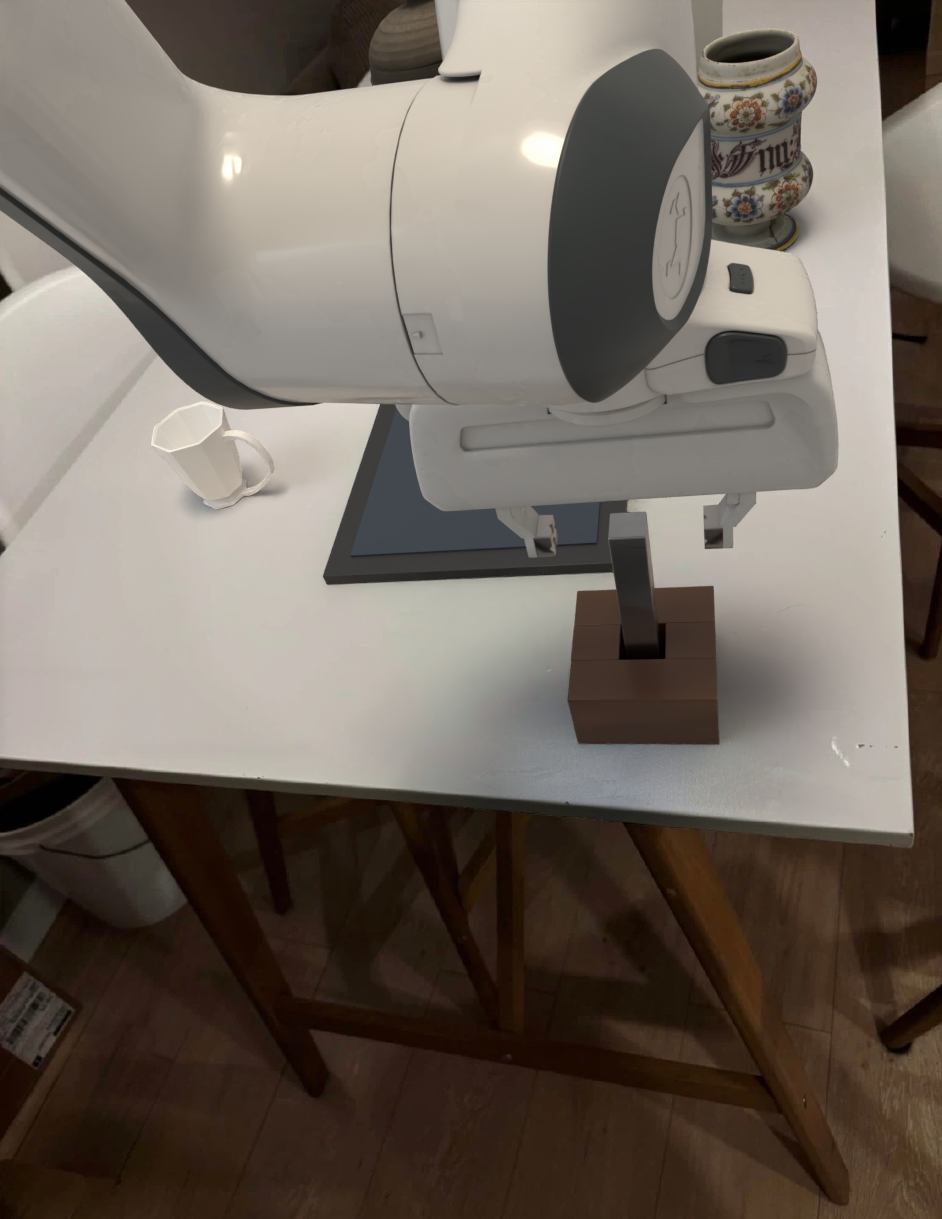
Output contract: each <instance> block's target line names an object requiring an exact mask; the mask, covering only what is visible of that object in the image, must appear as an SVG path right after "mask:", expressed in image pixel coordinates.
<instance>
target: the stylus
mask: <svg viewBox="0 0 942 1219" xmlns="http://www.w3.org/2000/svg"><path fill="white" fill-rule="evenodd" d="M648 522H649V521H648V513H647V512H646V510H645V511H644V510H643V511H627V512H626V513H611V514H610V519H609V534H608V541H609V547H610V554H611V560H612V567H613V572H612V573H613V579H614V585H615V589H616V593H617V599H618V605H619V612H620V618H621V625H622V631H623V638H624V644H625V651H626V657H627V660H640V659H662V653H661V644H660V634H659V625H658V615H657V606H656V597H655V588H656V587H655V580H654V578H655V577H654V569H653V561H652V551H651V542H650V541H651V540H650V532H649V523H648Z"/></svg>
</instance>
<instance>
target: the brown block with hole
mask: <svg viewBox="0 0 942 1219" xmlns="http://www.w3.org/2000/svg"><path fill="white" fill-rule="evenodd" d="M655 597H656V606H657V615H658V625H659V634H660V644H661V653H662V659H640V660H627V657H626V651H625V644H624V638H623V631H622V625H621V618H620V612H619V605H618V599H617V593H616V588H615V589H596V590H593V589H592V590H591V589H590V590H577V592H576V600H575V610H574V611H575V612H574V620H573V630H572V631H573V633H572V642H571V654H570V665H569V674H568V675H569V676H568V686H567V695H566V701H567V705H568V709H569V713H570V717H571V721H572V726H573V730H574V732H575V737H576V741H577V744H578V745H580V744H581V745H582V744H583V745H705V746H706V745H709V746H711V745H713V746H715V745H716V746H717V745H720V723H719V721H720V720H719V697H718V696H719V693H718V690H719V689H718V667H717V666H718V665H717V664H718V663H717V662H718V661H717V638H716V637H717V636H716V635H717V634H716V610H715V608H716V606H715V586H714V585H697V586H695V585H694V586H671V587H655Z"/></svg>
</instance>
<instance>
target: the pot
mask: <svg viewBox="0 0 942 1219" xmlns="http://www.w3.org/2000/svg"><path fill="white" fill-rule="evenodd" d="M368 62H369V73H370V78H369V80H370V84H371V86H375V85H383V84H391V83H398V82H406V81H414V80H422V79H429V78H434V77H436V76H439V75H441V74H440V73H439V72H438V68H439V67H440V65H441V64H442V62H443V60H442V53H441V46H440V39H439V31H438V24H437V16H436V8H435V0H406V2H405V3H403V4H401V5H400V6H398V7H397V8H395V9H393V10H391V11H390V12H389V13H388V14H387V15H386V16H385V17H384V18H383V19H382V20H381V21H380V22H379V25H378V26H377V28H376V29H375V31H374V33H373V36H372V38H371V39H370V43H369V48H368Z"/></svg>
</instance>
